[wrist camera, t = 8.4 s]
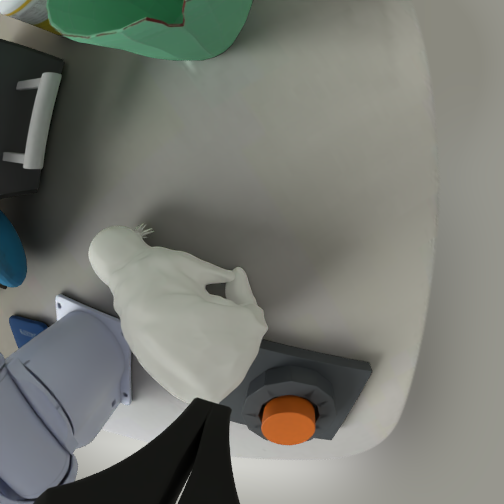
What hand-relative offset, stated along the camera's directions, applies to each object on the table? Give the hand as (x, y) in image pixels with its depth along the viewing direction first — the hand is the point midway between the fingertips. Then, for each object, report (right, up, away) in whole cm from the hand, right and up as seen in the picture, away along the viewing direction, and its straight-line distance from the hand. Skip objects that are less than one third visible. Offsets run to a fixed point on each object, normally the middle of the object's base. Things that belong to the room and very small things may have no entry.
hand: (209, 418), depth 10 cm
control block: (+4, -4, +11) cm, 13 cm away
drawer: (-18, +17, +8) cm, 26 cm away
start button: (+4, -5, +9) cm, 11 cm away
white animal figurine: (-3, +4, +10) cm, 12 cm away
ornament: (-22, +7, +11) cm, 25 cm away
